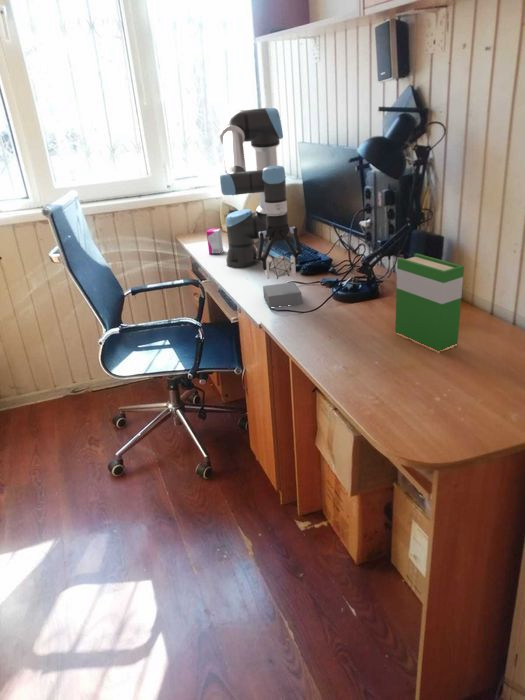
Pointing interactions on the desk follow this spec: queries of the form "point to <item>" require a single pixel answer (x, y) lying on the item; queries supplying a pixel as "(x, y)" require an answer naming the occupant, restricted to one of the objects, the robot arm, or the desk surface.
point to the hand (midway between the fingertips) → (280, 275)
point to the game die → (280, 266)
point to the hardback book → (429, 300)
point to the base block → (282, 294)
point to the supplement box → (214, 241)
